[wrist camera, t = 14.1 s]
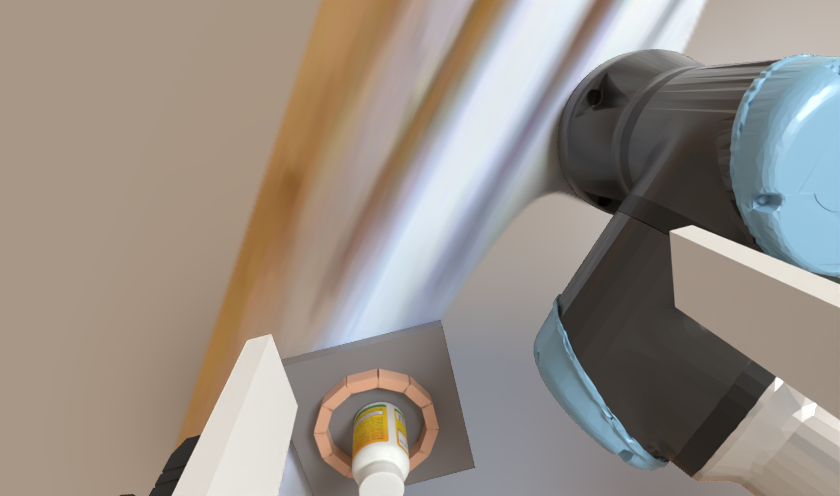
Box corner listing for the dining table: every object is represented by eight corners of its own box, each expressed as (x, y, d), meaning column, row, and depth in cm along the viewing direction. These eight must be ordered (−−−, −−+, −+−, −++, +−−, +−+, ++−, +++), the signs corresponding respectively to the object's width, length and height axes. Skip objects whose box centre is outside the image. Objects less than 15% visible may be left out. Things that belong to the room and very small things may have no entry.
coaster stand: (440, 320, 51) (444, 333, 48) (472, 458, 56) (477, 477, 54) (269, 362, 50) (263, 379, 47) (318, 498, 56) (316, 519, 53)
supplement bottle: (413, 409, 52) (423, 477, 43) (390, 449, 53) (396, 523, 44) (366, 392, 51) (367, 458, 42) (344, 433, 52) (341, 505, 43)
